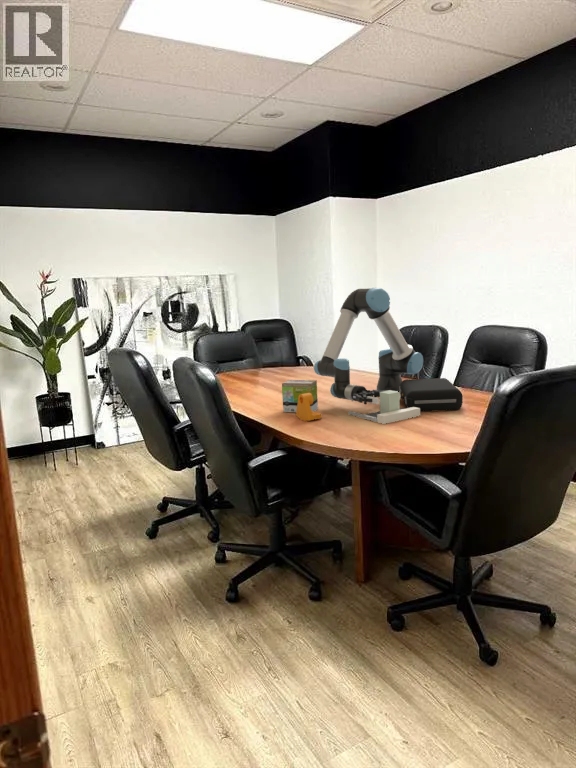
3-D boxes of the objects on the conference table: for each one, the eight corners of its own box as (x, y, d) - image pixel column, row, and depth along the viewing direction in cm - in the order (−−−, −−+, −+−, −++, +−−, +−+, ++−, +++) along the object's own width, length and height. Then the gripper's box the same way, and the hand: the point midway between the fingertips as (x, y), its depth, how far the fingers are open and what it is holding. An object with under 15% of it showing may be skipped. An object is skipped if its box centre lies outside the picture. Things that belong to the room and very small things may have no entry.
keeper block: (390, 413, 246) (389, 390, 244) (399, 416, 241) (399, 391, 239) (380, 416, 243) (379, 392, 241) (389, 418, 238) (389, 393, 236)
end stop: (413, 414, 244) (413, 406, 243) (420, 415, 240) (420, 408, 240) (377, 422, 233) (377, 414, 233) (383, 424, 230) (383, 416, 229)
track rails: (383, 407, 262) (383, 404, 261) (413, 414, 244) (413, 411, 243) (348, 414, 251) (347, 411, 251) (377, 422, 233) (377, 419, 233)
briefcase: (387, 398, 284) (386, 379, 282) (449, 395, 280) (449, 376, 279) (393, 414, 248) (392, 392, 247) (464, 411, 245) (464, 389, 243)
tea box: (282, 412, 263) (280, 382, 261) (289, 408, 273) (288, 379, 270) (312, 413, 258) (310, 383, 256) (318, 408, 267) (317, 379, 265)
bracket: (322, 419, 245) (321, 393, 243) (308, 422, 241) (307, 395, 239) (310, 415, 254) (308, 390, 252) (296, 418, 251) (295, 392, 249)
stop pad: (387, 410, 255) (387, 409, 255) (409, 415, 242) (409, 414, 242) (360, 415, 247) (360, 415, 247) (382, 421, 235) (381, 420, 235)
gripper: (375, 396, 265) (408, 402, 248) (336, 405, 251) (369, 411, 234) (374, 381, 264) (408, 386, 247) (336, 389, 250) (368, 394, 233)
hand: (389, 398), depth 241 cm, fingers open, 13 cm apart
